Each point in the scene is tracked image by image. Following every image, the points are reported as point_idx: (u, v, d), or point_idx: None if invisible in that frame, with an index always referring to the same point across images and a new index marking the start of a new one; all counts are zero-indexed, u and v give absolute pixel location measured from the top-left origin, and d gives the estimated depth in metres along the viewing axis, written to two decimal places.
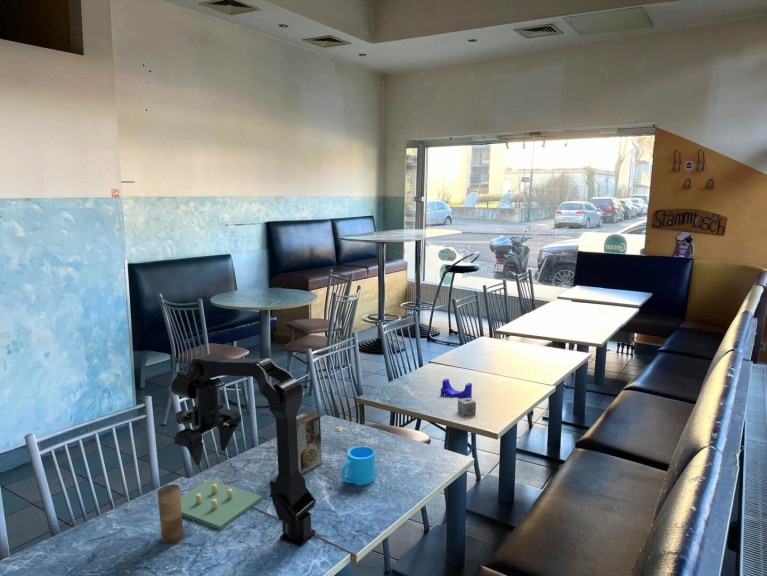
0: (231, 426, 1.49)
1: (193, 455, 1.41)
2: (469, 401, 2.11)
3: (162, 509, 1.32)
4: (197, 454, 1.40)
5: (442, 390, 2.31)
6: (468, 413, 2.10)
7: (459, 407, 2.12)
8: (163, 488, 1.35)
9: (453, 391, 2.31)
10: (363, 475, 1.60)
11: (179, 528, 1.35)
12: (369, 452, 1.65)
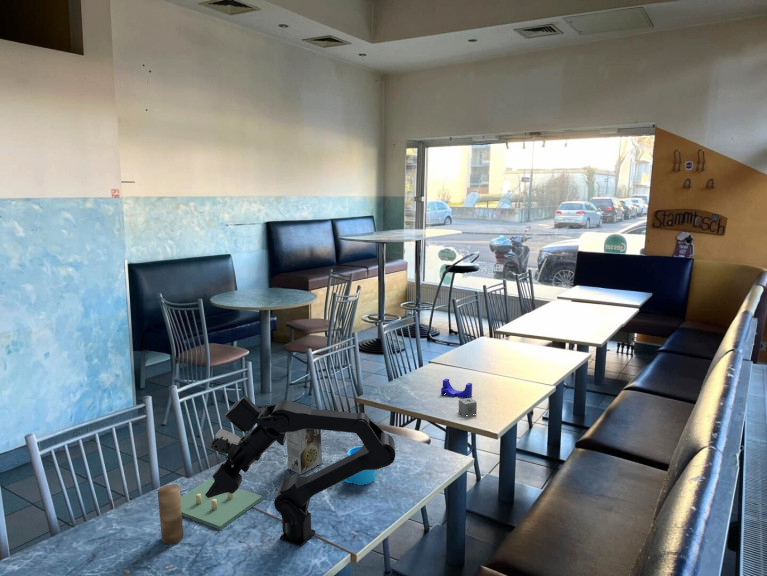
0: None
1: (213, 489, 1.28)
2: (470, 401, 2.10)
3: (162, 509, 1.32)
4: (221, 492, 1.28)
5: (442, 390, 2.31)
6: (469, 413, 2.09)
7: (460, 407, 2.12)
8: (163, 488, 1.35)
9: (453, 390, 2.32)
10: (363, 475, 1.60)
11: (179, 528, 1.35)
12: None
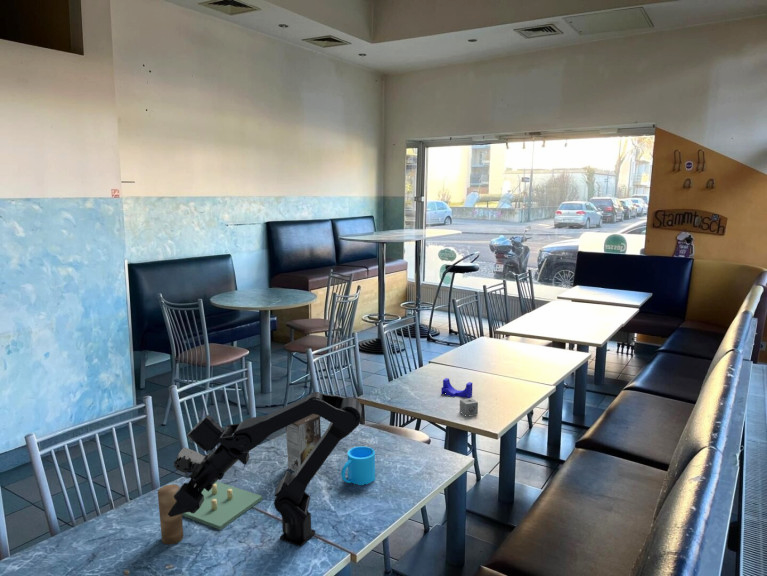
0: None
1: (175, 509, 1.29)
2: (471, 401, 2.10)
3: (162, 509, 1.32)
4: (183, 512, 1.29)
5: (443, 389, 2.31)
6: (470, 413, 2.09)
7: (461, 407, 2.12)
8: (163, 488, 1.35)
9: (454, 390, 2.32)
10: (363, 475, 1.60)
11: (179, 528, 1.35)
12: (369, 452, 1.65)
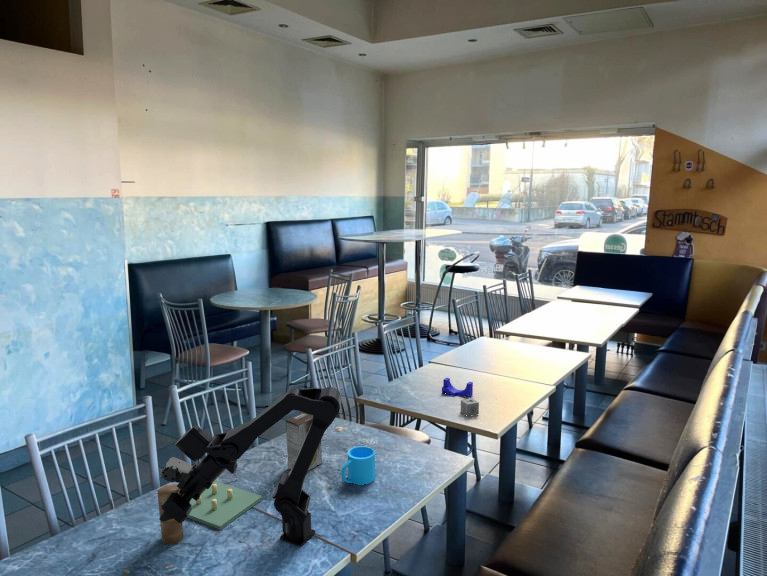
0: None
1: (167, 514, 1.31)
2: (472, 401, 2.10)
3: (162, 509, 1.32)
4: None
5: (443, 389, 2.32)
6: (471, 414, 2.09)
7: (462, 407, 2.11)
8: (163, 488, 1.35)
9: (454, 389, 2.33)
10: (363, 475, 1.60)
11: (179, 528, 1.35)
12: (369, 452, 1.65)
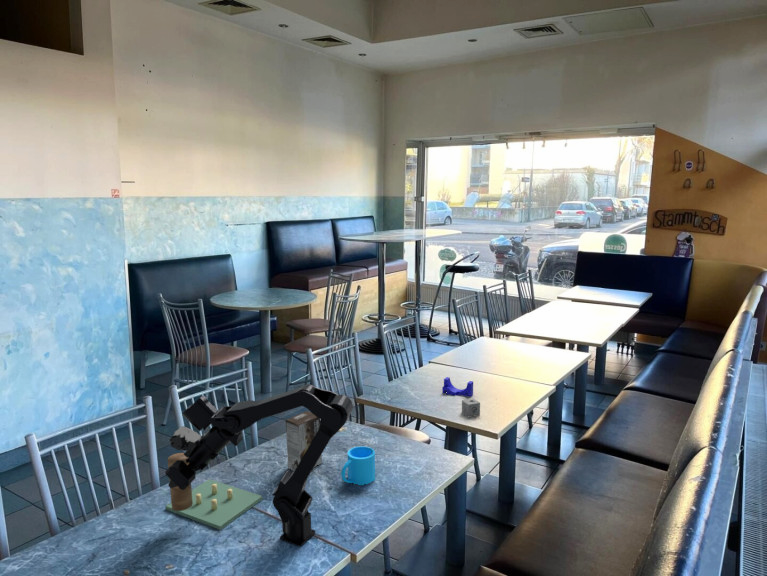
0: None
1: None
2: (473, 402, 2.10)
3: None
4: None
5: (444, 388, 2.32)
6: (472, 414, 2.09)
7: (463, 408, 2.11)
8: (173, 456, 1.39)
9: (455, 389, 2.33)
10: (363, 475, 1.60)
11: (187, 496, 1.38)
12: (369, 452, 1.65)
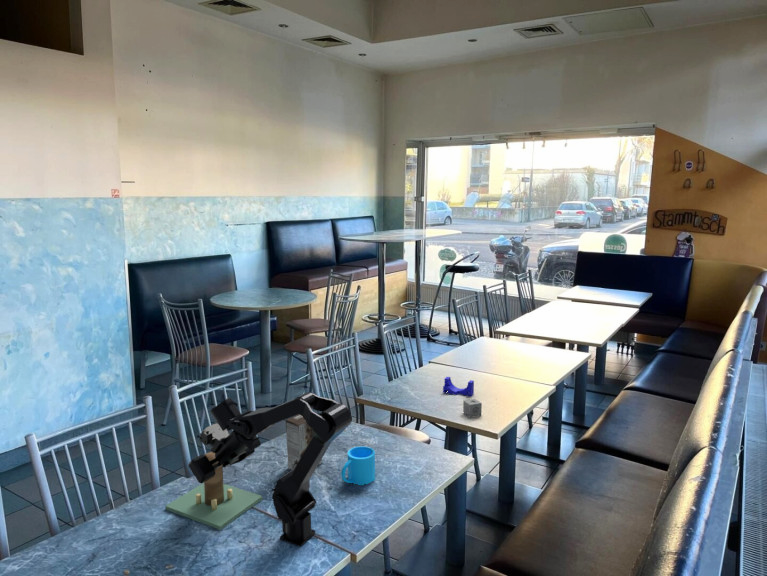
0: (239, 458, 1.51)
1: None
2: (475, 402, 2.10)
3: None
4: None
5: (444, 388, 2.33)
6: (474, 414, 2.08)
7: (465, 408, 2.11)
8: (210, 453, 1.50)
9: (455, 388, 2.34)
10: (363, 475, 1.60)
11: (216, 493, 1.48)
12: (369, 452, 1.65)
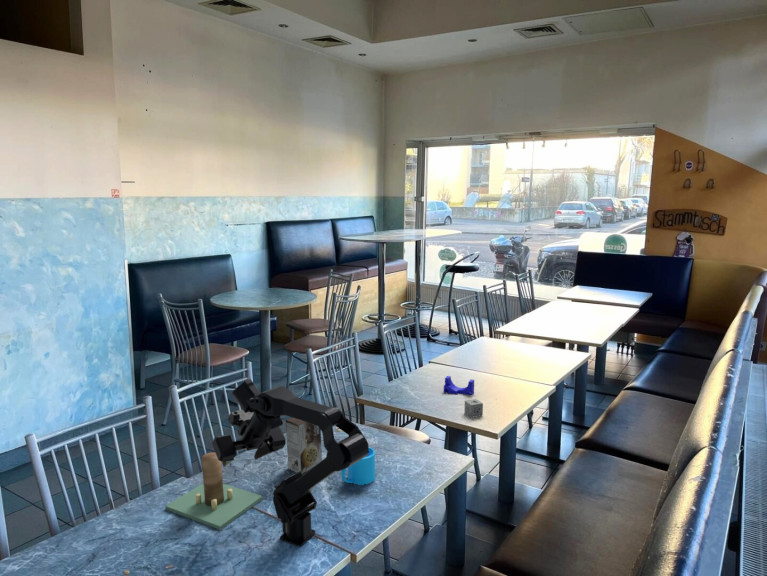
0: (271, 448, 1.46)
1: None
2: (476, 402, 2.09)
3: (203, 472, 1.48)
4: (225, 462, 1.40)
5: (445, 387, 2.34)
6: (475, 414, 2.08)
7: (466, 408, 2.11)
8: (208, 454, 1.50)
9: (456, 387, 2.35)
10: (363, 475, 1.60)
11: (216, 494, 1.48)
12: (369, 452, 1.65)
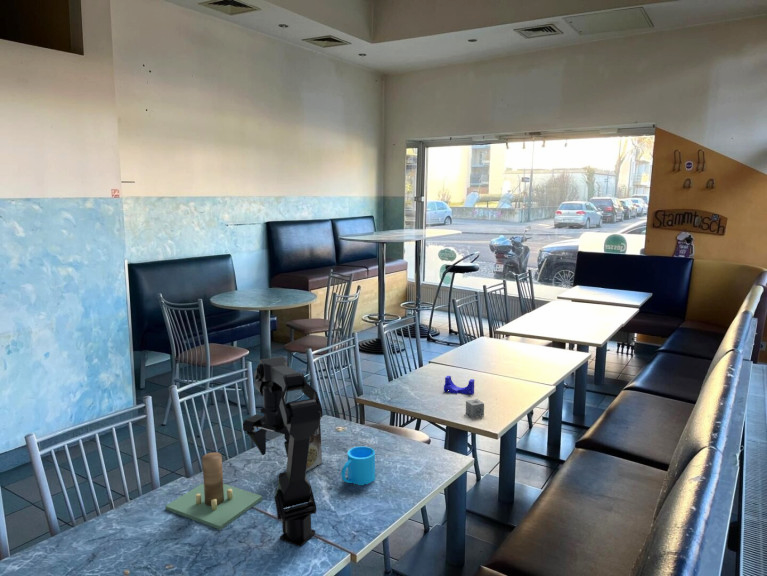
0: None
1: None
2: (477, 402, 2.09)
3: (203, 472, 1.48)
4: None
5: (445, 387, 2.34)
6: (476, 415, 2.08)
7: (467, 408, 2.10)
8: (209, 454, 1.50)
9: (456, 387, 2.36)
10: (363, 475, 1.60)
11: (216, 494, 1.48)
12: (369, 452, 1.65)
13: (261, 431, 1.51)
